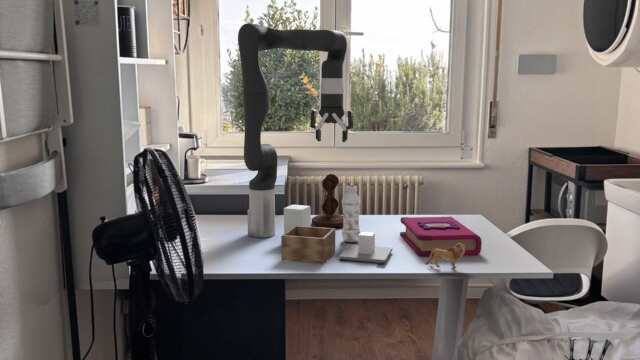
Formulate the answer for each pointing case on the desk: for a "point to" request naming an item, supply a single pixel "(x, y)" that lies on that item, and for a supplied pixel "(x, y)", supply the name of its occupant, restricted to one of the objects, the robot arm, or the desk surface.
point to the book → (438, 235)
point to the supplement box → (297, 216)
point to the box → (308, 244)
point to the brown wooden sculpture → (329, 205)
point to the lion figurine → (447, 254)
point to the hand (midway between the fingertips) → (331, 141)
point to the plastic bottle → (351, 214)
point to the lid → (366, 250)
